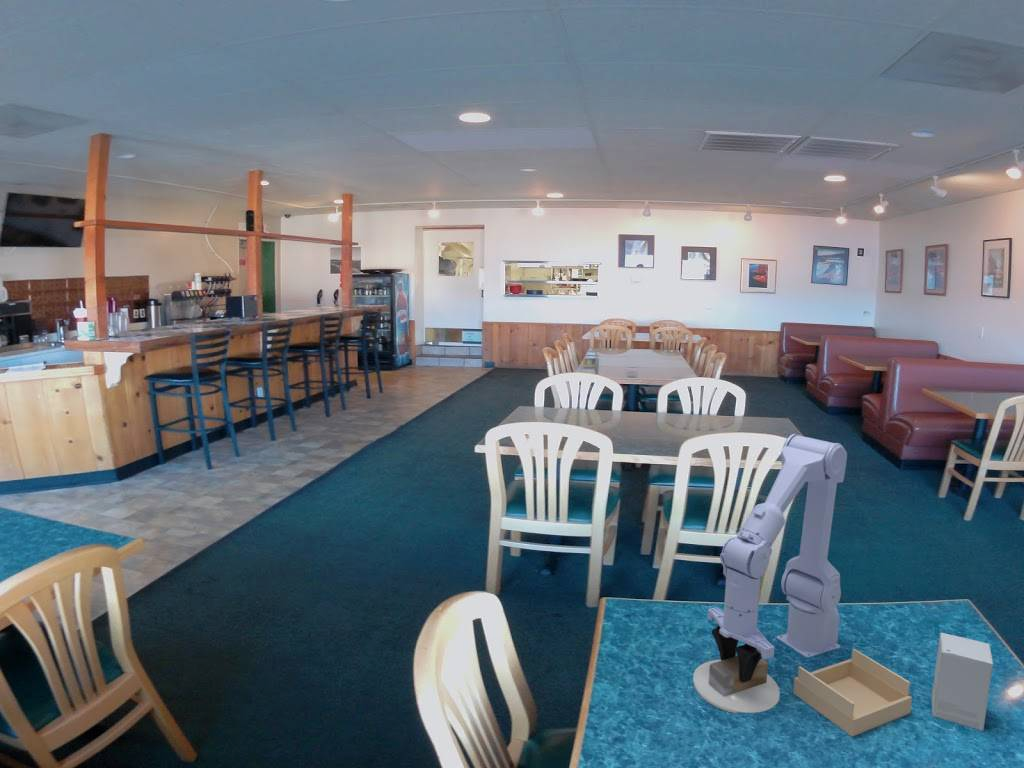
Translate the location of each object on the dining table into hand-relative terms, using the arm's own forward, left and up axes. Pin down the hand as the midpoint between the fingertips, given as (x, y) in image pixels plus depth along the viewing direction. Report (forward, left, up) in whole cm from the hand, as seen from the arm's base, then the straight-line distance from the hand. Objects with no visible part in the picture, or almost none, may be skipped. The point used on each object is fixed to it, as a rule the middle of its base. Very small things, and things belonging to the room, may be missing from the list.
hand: (736, 673), depth 121 cm
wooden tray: (-15, +12, -3) cm, 19 cm away
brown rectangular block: (0, 0, -2) cm, 2 cm away
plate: (0, 0, -3) cm, 3 cm away
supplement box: (-30, +21, -3) cm, 37 cm away
